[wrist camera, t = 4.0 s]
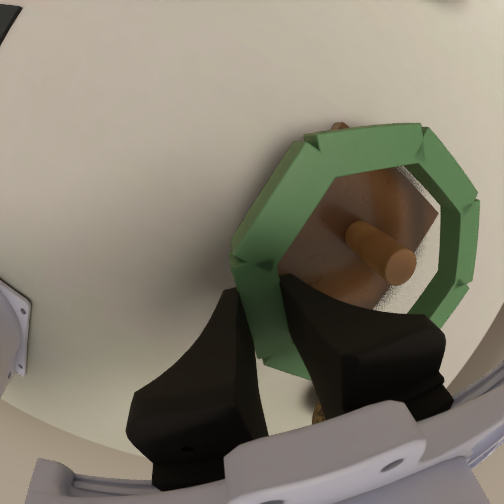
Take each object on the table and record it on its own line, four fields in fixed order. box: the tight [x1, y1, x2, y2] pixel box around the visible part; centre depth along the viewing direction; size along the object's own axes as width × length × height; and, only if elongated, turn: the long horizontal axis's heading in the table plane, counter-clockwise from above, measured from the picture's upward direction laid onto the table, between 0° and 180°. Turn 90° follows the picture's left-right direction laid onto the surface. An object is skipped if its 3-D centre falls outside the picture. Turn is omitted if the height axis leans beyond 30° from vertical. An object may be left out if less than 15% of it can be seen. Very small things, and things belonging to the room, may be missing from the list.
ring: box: [229, 123, 480, 380], centre depth 12 cm, size 12×12×2 cm
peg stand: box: [277, 122, 438, 310], centre depth 14 cm, size 9×9×6 cm
